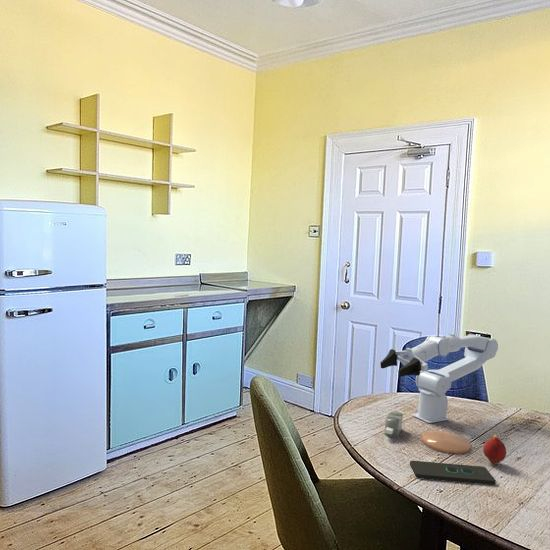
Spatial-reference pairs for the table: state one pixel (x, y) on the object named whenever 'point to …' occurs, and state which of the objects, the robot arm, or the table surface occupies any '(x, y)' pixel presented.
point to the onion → (494, 450)
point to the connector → (393, 424)
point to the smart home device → (452, 472)
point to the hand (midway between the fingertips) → (390, 369)
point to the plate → (446, 442)
